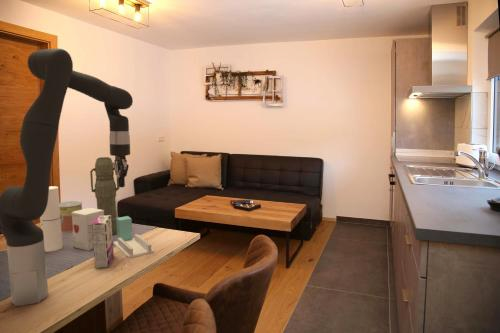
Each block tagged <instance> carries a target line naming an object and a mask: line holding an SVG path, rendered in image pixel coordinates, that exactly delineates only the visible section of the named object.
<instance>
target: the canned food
mask: <svg viewBox="0 0 500 333" xmlns="http://www.w3.org/2000/svg"><path fill="white" fill-rule="evenodd" d="M82 204H83V203H82V201H74V200H73V201H65V202H64V201H63V202H59V206H60V220H61V233H73V225H72V212H74V211H78V210H82V209H83V206H82Z"/></svg>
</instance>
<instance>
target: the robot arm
mask: <svg viewBox="0 0 500 333" xmlns="http://www.w3.org/2000/svg"><path fill="white" fill-rule="evenodd" d="M73 67H74V62H73V58H72V56H71V55H70V53H69V52H68V51H67V50H66V49H63V48H58V47H57V48H55V47H54V48H46V49H45V48H44V49H37V50H35V51H32V52H31V53H30V54H29V56H28V58H27V68H28V69H29V72H30V73H31V74H32V75H33V76H34V77H36V78H37V79H38V80H42V81H44V83H43V86H42V89H41V91H40V93H39V95H38V96H37V97H36V99H35V100H34V102H33V103H32V105H30V107H29V109H27V111H26V112H25V115H24V118H23V121H22V124H21V129H20V134H19V145H20V148H21V152H22V155H23V158H24V161H25V165H26V171H25V172H26V174H25V180H24V184H23V186H18V185H17V186H16V185H15V186H13V185H12V186H9V187H7V188H5V189H4V190H3V191H2V192H1V194H0V229H1V234H2V236H3V238H4V239H5V243H6V252H7V262H8V263H7V264H8V275H9V284H10V285H9V286H10V294H11V296H10V297H11V303H12V304H14V307H19V306H20V307H21V306H26V305H34V304H38V303H39V304H40V302H41V301H42V300H45V299H46V298H47V297H48V295H49V287H48V286H49V285H48V276H47V275H48V273H47V263H46V261H47V260H46V251H45V247H44V235H43V230H42V229H41V227H39V226H38V225H36V223H35V222H34V221H36V220H38V219H40V217H41V216H42V215H43V213H44V212H45V210H46V207H47V203H48V195H49V186H50V179H51V178H50V177H51V172H52V171H51V169H52V164H53V163H52V162H53V157H54V151H55V147H56V142H57V138H58V132H59V125H60V119H61V116H62V115H61V114H62V112H63V108H64V107H63V106H64V101H65V98H66V94H67V91H68V88H69V89H71V90H73V91H76V92H79V93H81V94H83V95H86V96H88V97H90V98H92V99H94V100H96V101H98V102H101V103H103V105H104V108H105V110H106V111H105V112H106V114H107V118H108V121H109V135H108V136H109V140H108V142H109V155H110V156H111V157H112V156H114V161H112V162H113V167H114V169H115V170H114V174H115V176H116V178H117V177H118V187H119V188H125V186H126V184H125V183H126V182H125V181H126V180H125V178H126V177H127V175H128V171H129V164H128V160H127V158H126V157H127V156H130V155H131V139H130V138H131V137H130V127H129V126H130V125H129V122H130V120H129V117H127V116H125V115H122V114H121V112H120V110H127V109H129V108H131V107H132V106H133V102H134V101H133V96H132V95H131V94H130V92H129V91H128V90H126V89H123V88H120V87H118V86H115V85H111V84H109V83H107V82H105V81H103V80H101V79H99V78H98V77H95V76H92V75H90V74H86V73H83V72H80V71H75V70H74V68H73Z"/></svg>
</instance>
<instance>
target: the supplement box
mask: <svg viewBox="0 0 500 333" xmlns="http://www.w3.org/2000/svg"><path fill="white" fill-rule="evenodd" d="M101 215H102V216H103V215H104V210H100V209H97V208H94V207H86V208H82V210H78V211H74V212H72V225H73V231H72V237H73V248H77V249H80V250H84V251H91V250H94V245H93V232H92V224H93V222H94V221H95V220H96V218H97V217H98V216H101Z"/></svg>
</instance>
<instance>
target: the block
mask: <svg viewBox="0 0 500 333" xmlns="http://www.w3.org/2000/svg"><path fill="white" fill-rule="evenodd" d="M132 220H133V219H132V218H131V217H130V216H129V215H126V216H121V217H116V225H117V235H116V239H118V238H120V237H121V238H122V239H123V240H124V241H125V240H130V239H132V238H133V222H132Z"/></svg>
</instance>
